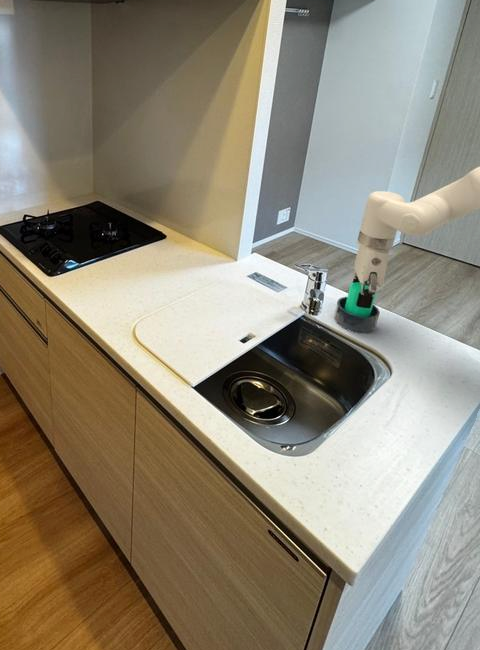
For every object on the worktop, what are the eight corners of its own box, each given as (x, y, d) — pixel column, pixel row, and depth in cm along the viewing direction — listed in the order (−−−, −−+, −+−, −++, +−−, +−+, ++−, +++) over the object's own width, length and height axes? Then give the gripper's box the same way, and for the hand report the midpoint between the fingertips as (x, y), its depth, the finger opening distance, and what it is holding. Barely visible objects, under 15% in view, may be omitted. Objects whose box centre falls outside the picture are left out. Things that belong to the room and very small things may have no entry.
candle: (357, 329, 110) (368, 291, 105) (337, 317, 115) (346, 280, 110) (372, 323, 112) (383, 285, 108) (352, 311, 117) (361, 275, 113)
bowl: (370, 315, 116) (374, 300, 114) (379, 337, 108) (383, 321, 106) (331, 308, 120) (335, 294, 118) (337, 329, 111) (340, 313, 109)
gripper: (403, 257, 96) (384, 321, 102) (384, 228, 111) (368, 285, 117) (366, 252, 98) (350, 315, 105) (352, 224, 113) (339, 280, 120)
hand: (360, 298), depth 111 cm, fingers open, 6 cm apart
